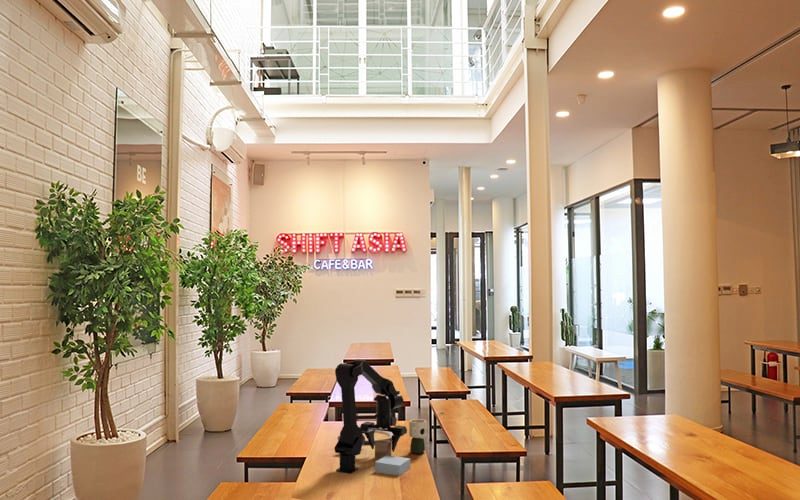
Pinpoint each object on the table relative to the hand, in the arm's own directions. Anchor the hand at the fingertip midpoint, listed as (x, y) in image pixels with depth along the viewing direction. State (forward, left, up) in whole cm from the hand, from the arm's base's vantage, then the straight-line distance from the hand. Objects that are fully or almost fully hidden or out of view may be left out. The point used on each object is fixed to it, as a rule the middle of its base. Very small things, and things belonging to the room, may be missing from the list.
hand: (383, 450), depth 250 cm
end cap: (+2, +15, -3) cm, 15 cm away
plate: (+25, +20, -3) cm, 32 cm away
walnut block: (0, 0, -3) cm, 3 cm away
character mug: (+12, -10, -3) cm, 16 cm away
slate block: (-14, -11, -3) cm, 18 cm away
